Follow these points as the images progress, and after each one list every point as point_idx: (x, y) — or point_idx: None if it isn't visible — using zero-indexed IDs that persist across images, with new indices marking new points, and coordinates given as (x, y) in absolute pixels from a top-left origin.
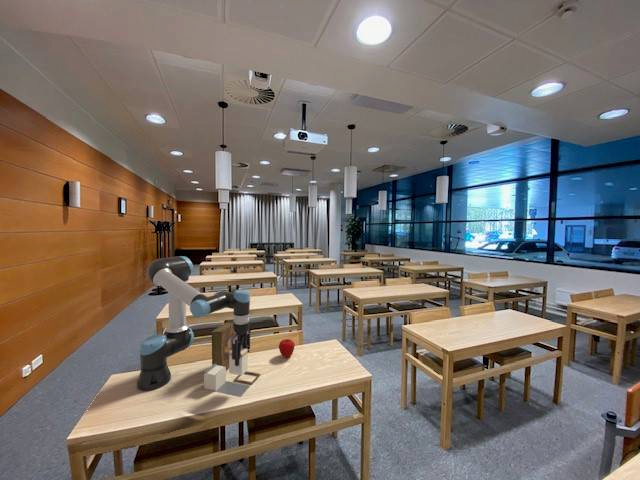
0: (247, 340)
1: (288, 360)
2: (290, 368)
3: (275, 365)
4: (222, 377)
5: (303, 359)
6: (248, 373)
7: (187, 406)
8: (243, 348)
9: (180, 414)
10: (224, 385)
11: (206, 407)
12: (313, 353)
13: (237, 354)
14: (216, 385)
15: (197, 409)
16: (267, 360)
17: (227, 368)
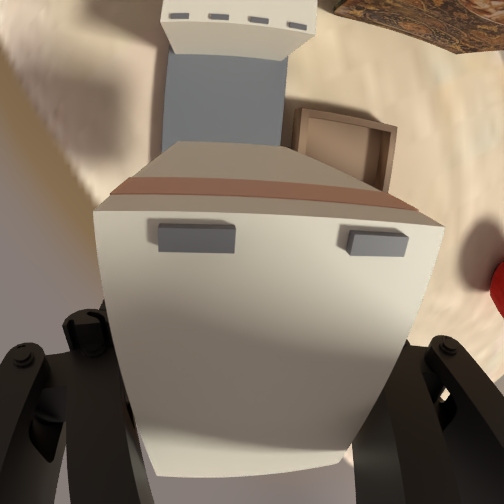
0: (471, 495)
1: (475, 293)
2: (426, 327)
3: (453, 260)
4: (250, 44)
5: (468, 338)
6: (382, 166)
7: (58, 6)
8: (353, 425)
9: (13, 27)
10: (240, 71)
11: (62, 92)
12: (489, 346)
13: (49, 472)
14: (176, 46)
15: (44, 64)
16: (486, 206)
17: (399, 25)
